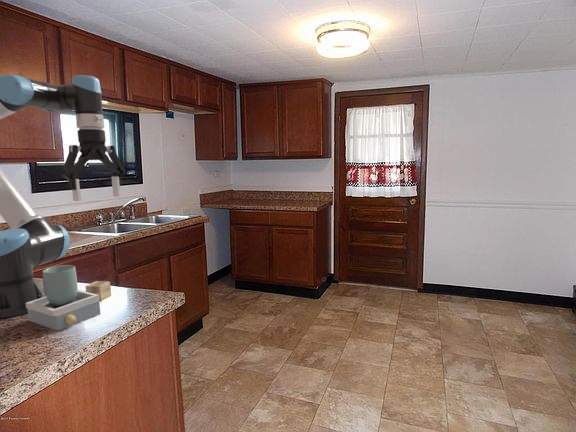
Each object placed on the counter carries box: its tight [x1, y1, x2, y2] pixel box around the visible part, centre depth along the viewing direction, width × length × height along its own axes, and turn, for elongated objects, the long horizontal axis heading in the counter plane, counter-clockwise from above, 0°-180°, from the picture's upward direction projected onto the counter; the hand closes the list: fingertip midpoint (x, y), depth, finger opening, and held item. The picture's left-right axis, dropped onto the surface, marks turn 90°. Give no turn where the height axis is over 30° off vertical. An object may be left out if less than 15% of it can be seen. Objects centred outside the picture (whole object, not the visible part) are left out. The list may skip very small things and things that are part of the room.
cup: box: [41, 264, 78, 306], centre depth 107 cm, size 8×8×10 cm
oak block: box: [85, 280, 112, 302], centre depth 123 cm, size 5×5×5 cm
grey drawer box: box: [26, 289, 101, 331], centre depth 108 cm, size 15×13×6 cm
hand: (98, 198), depth 121 cm, fingers open, 13 cm apart
